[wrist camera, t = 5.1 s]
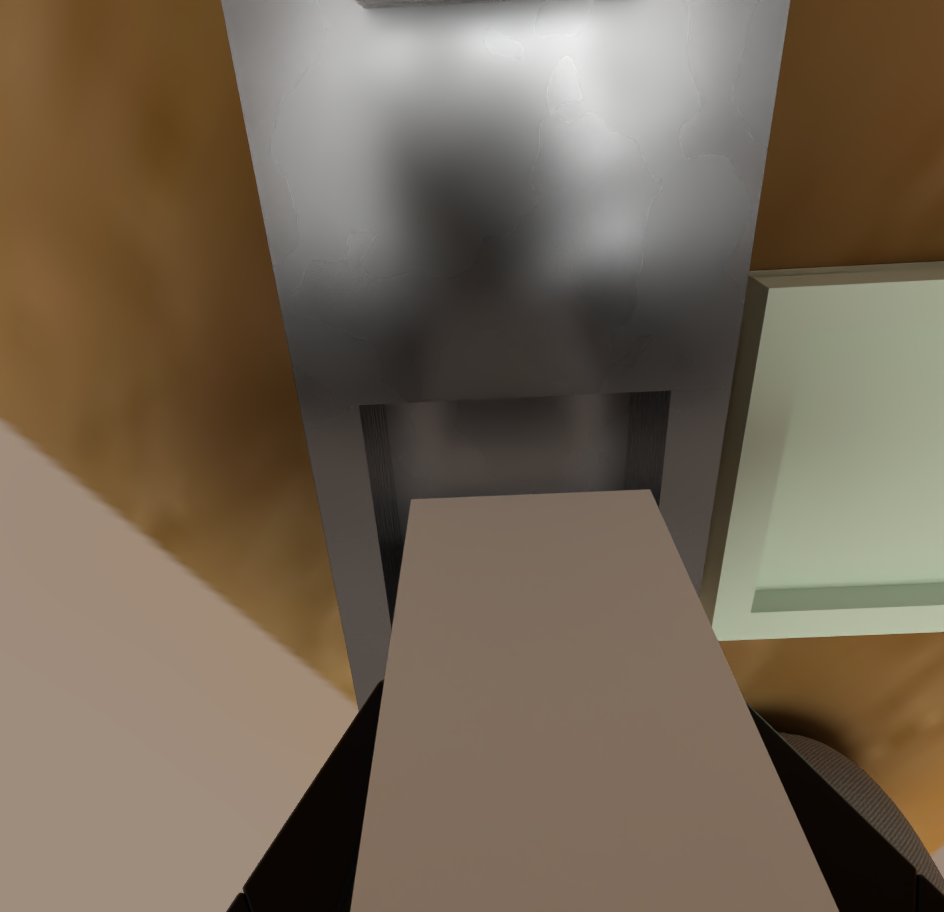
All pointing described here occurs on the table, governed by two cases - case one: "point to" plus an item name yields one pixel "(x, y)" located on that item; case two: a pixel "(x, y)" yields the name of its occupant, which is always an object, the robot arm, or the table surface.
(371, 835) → the plug
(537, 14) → the grey socket block
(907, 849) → the smart speaker
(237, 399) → the table surface
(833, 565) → the tray
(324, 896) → the robot arm
